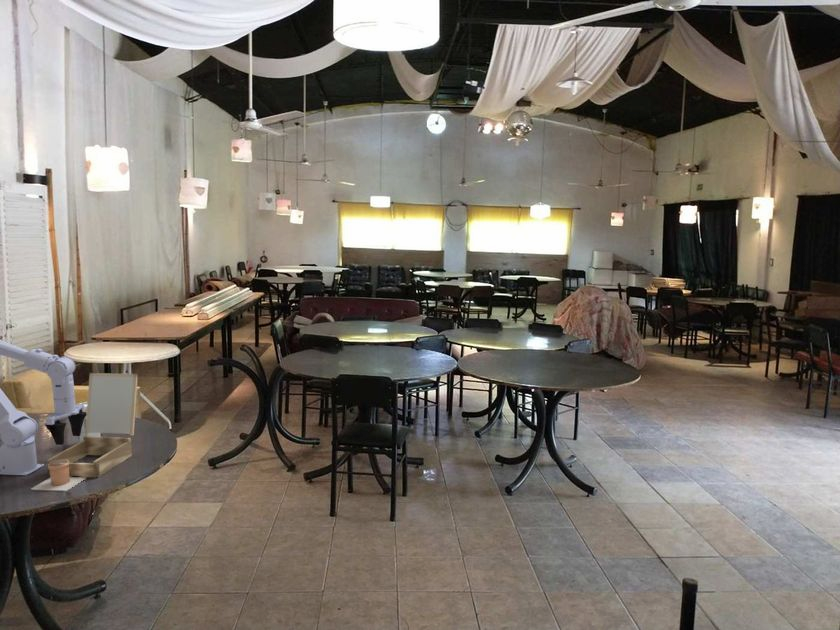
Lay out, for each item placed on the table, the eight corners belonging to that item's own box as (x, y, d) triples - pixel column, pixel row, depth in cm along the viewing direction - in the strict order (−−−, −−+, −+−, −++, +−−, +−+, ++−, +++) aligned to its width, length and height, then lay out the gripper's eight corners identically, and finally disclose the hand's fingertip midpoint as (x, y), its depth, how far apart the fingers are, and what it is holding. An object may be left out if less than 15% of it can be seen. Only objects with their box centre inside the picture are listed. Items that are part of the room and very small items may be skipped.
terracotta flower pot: (45, 486, 183) (43, 466, 182) (58, 478, 189) (56, 458, 188) (63, 486, 183) (61, 466, 182) (75, 479, 188) (73, 459, 187)
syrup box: (95, 439, 223) (92, 399, 220) (103, 443, 219) (99, 402, 217) (78, 444, 218) (74, 403, 216) (86, 448, 214) (82, 406, 212)
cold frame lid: (89, 373, 211) (91, 373, 212) (85, 433, 209) (86, 433, 210) (136, 373, 209) (137, 373, 210) (132, 435, 207) (133, 435, 208)
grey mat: (30, 489, 181) (30, 488, 181) (52, 477, 190) (52, 476, 190) (66, 491, 180) (66, 490, 180) (86, 478, 189) (86, 477, 189)
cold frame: (48, 475, 192) (46, 456, 191) (86, 453, 209) (85, 436, 208) (98, 477, 190) (96, 458, 189) (132, 455, 207) (130, 437, 206)
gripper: (59, 404, 185) (63, 448, 187) (91, 391, 199) (95, 432, 202) (37, 403, 186) (42, 447, 188) (71, 390, 200) (75, 431, 203)
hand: (68, 440), depth 195 cm, fingers open, 7 cm apart
